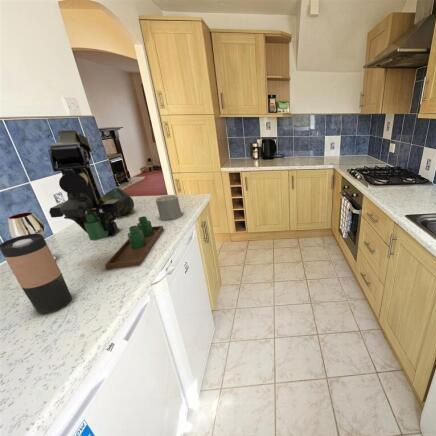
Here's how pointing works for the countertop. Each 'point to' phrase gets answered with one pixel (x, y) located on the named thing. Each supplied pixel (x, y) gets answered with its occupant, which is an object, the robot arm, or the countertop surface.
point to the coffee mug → (168, 207)
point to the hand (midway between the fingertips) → (97, 231)
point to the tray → (133, 252)
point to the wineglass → (25, 225)
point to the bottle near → (145, 226)
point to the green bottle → (94, 227)
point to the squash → (123, 196)
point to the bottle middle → (136, 237)
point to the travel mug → (37, 272)
